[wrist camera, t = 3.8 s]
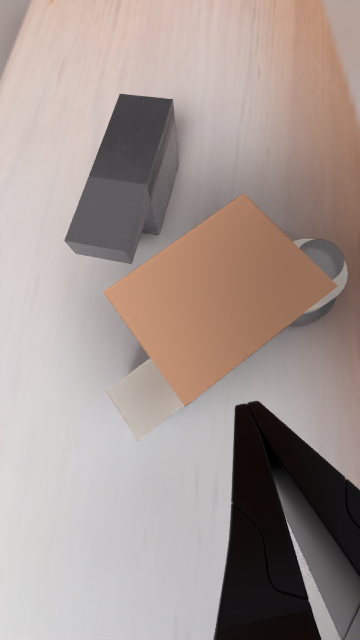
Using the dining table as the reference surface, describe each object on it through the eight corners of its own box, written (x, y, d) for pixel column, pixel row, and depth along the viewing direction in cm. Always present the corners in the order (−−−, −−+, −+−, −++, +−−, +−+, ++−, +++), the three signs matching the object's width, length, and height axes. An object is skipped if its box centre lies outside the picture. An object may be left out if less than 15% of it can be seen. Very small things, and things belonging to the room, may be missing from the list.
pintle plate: (329, 330, 17) (372, 310, 13) (251, 321, 18) (268, 299, 13) (329, 261, 18) (368, 221, 14) (256, 254, 19) (273, 214, 15)
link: (298, 244, 18) (444, 30, 7) (344, 288, 17) (589, 115, 6) (112, 384, 16) (-48, 371, 6) (150, 442, 15) (42, 557, 5)
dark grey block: (178, 165, 21) (172, 99, 17) (144, 287, 19) (125, 251, 14) (137, 159, 22) (119, 93, 17) (98, 278, 19) (64, 240, 14)
